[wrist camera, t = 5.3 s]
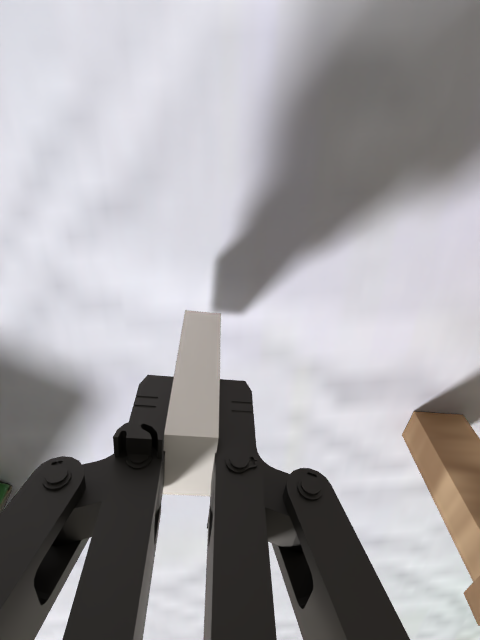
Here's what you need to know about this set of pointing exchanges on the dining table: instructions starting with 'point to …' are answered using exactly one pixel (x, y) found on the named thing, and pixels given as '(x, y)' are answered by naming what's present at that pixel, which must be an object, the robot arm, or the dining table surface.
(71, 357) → the dining table surface
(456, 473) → the bridge
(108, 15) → the dining table surface
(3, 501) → the chalk box
